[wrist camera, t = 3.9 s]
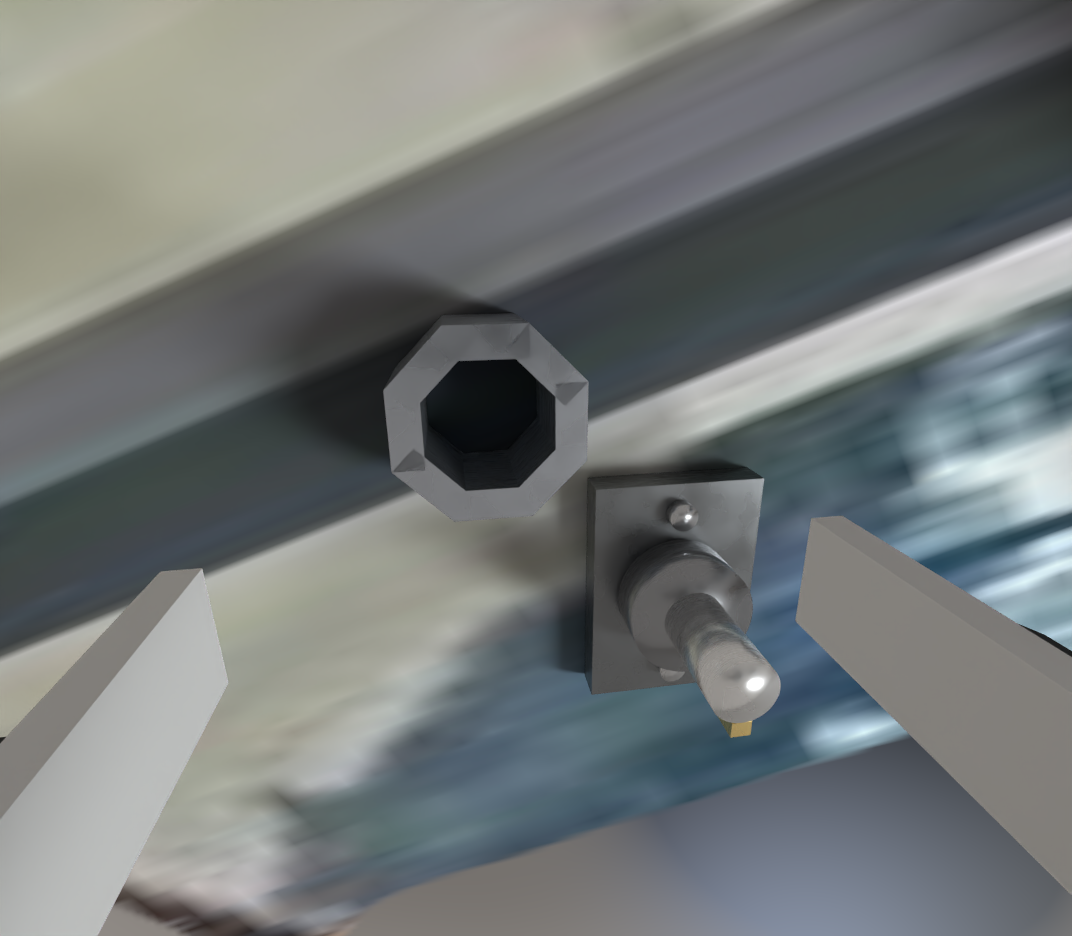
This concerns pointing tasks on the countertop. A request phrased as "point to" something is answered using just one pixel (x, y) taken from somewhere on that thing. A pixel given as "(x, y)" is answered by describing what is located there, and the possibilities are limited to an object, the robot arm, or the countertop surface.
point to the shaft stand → (676, 588)
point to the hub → (486, 476)
